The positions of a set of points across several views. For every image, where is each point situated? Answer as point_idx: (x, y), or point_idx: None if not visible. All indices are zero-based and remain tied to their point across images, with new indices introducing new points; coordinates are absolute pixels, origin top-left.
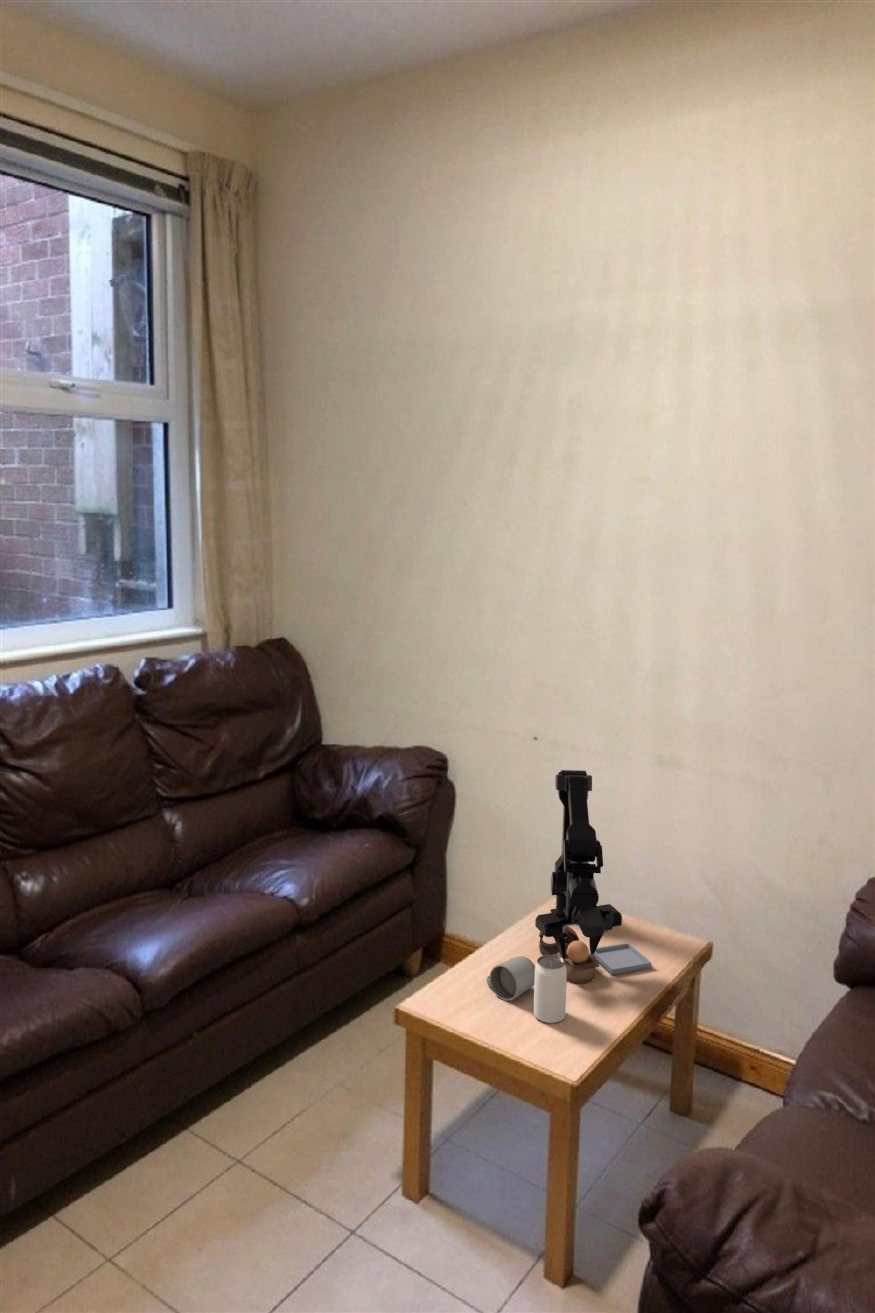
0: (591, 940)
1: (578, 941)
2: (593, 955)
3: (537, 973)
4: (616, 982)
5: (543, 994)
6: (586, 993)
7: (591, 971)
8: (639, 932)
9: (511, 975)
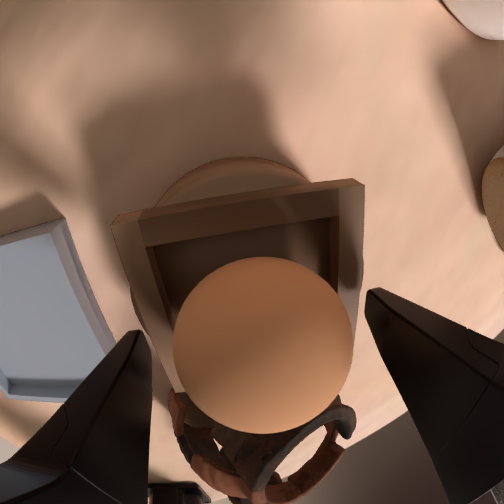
0: (135, 429)
1: (275, 424)
2: None
3: None
4: (55, 153)
5: None
6: (262, 56)
7: (183, 189)
8: (6, 424)
9: None
